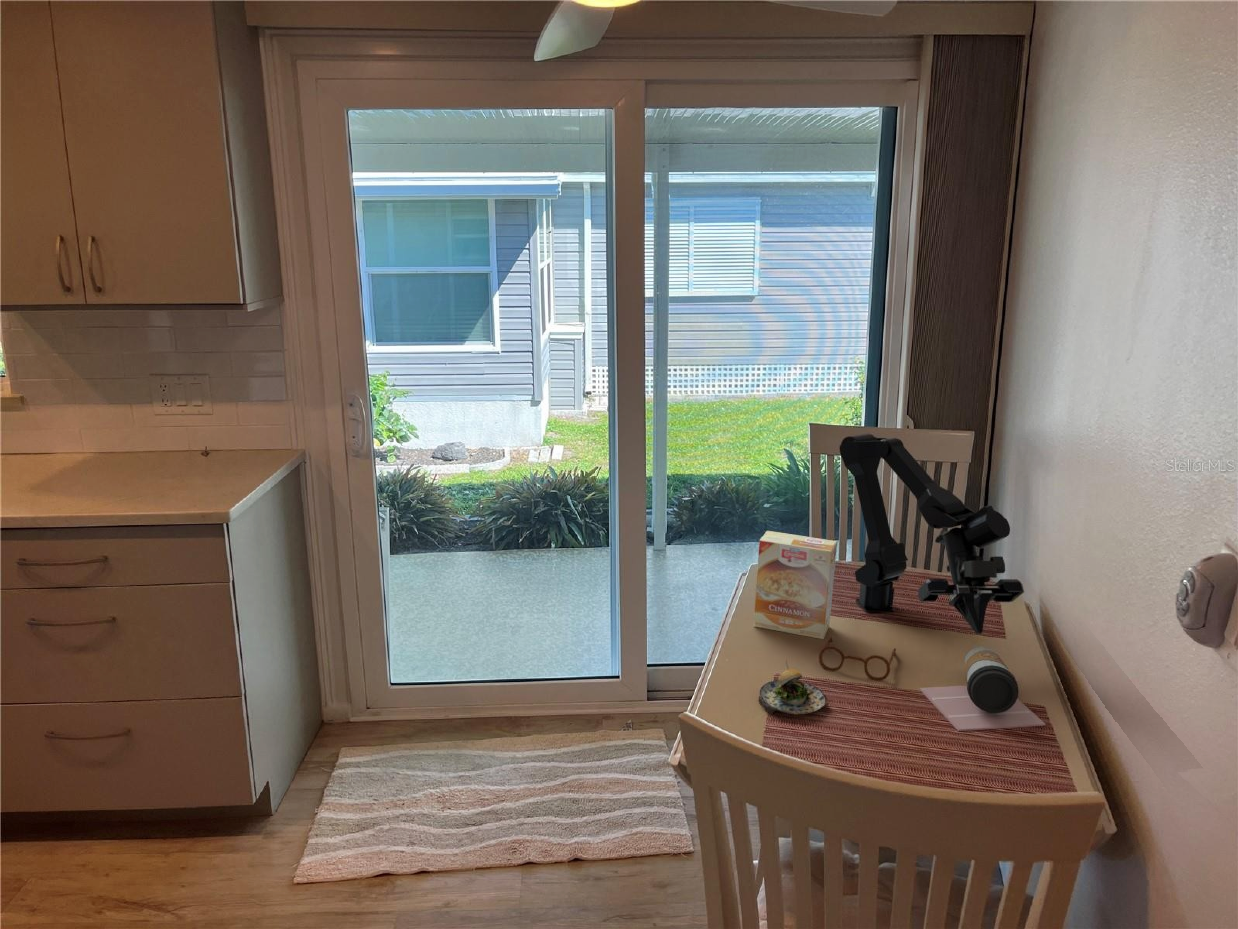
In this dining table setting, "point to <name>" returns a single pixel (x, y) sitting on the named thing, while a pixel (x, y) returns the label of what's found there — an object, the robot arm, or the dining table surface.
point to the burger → (791, 695)
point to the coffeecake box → (794, 584)
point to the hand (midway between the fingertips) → (979, 633)
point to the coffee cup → (989, 681)
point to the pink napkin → (977, 711)
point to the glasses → (856, 659)
